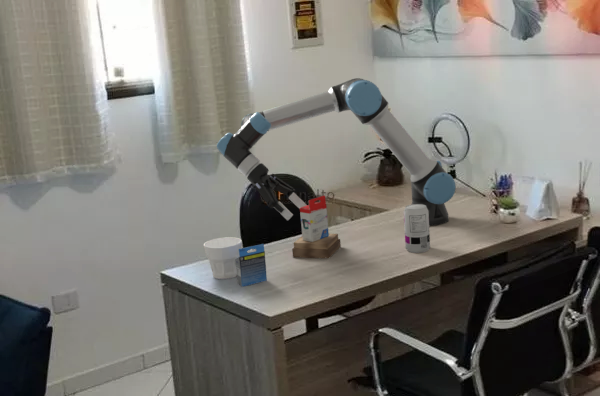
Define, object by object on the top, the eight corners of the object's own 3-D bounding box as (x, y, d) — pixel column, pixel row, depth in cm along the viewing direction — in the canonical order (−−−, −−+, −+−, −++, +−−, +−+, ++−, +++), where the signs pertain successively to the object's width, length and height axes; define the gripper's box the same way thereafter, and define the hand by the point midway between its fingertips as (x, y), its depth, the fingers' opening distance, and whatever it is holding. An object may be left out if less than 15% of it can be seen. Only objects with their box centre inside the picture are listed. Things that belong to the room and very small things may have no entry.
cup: (213, 283, 254) (210, 250, 252) (202, 273, 266) (198, 241, 263) (250, 276, 259) (247, 243, 257) (237, 266, 270) (234, 234, 268)
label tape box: (262, 278, 256) (258, 240, 254) (267, 281, 253) (264, 243, 250) (236, 284, 252) (233, 246, 250) (242, 287, 249) (238, 249, 246)
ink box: (319, 234, 282) (315, 193, 279) (329, 236, 279) (326, 195, 276) (301, 240, 277) (298, 198, 273) (312, 242, 273) (308, 200, 270)
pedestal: (340, 247, 283) (339, 233, 281) (329, 258, 271) (327, 244, 270) (305, 246, 287) (304, 232, 286) (292, 257, 275) (291, 243, 274)
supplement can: (400, 251, 272) (398, 208, 269) (414, 245, 278) (412, 202, 275) (420, 254, 267) (418, 210, 263) (434, 248, 272) (432, 205, 269)
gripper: (261, 170, 292) (303, 211, 291) (232, 185, 270) (277, 229, 268) (273, 155, 289) (315, 196, 288) (245, 169, 267) (291, 214, 265)
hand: (297, 212), depth 278 cm, fingers open, 13 cm apart
